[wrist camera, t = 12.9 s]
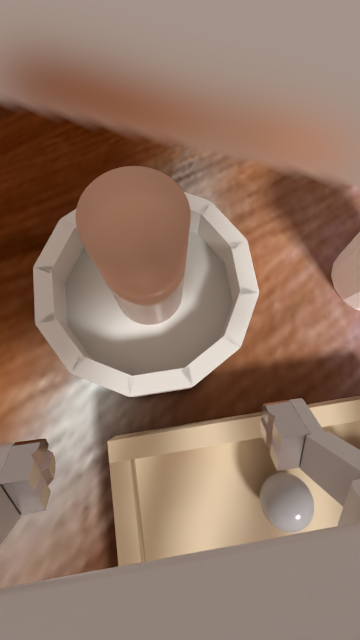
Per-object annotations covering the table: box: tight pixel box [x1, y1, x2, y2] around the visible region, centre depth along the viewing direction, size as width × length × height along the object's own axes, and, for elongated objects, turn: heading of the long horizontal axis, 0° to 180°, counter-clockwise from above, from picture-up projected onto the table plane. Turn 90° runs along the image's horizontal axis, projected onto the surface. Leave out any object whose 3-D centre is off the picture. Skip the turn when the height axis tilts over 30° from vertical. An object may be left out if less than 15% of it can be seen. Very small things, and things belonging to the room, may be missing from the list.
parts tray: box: [107, 396, 360, 566], centre depth 18 cm, size 19×12×3 cm, turn 98°
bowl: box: [33, 192, 259, 397], centre depth 21 cm, size 14×14×3 cm
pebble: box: [260, 472, 315, 533], centre depth 18 cm, size 3×3×3 cm
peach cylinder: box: [76, 166, 191, 325], centre depth 18 cm, size 5×5×10 cm
